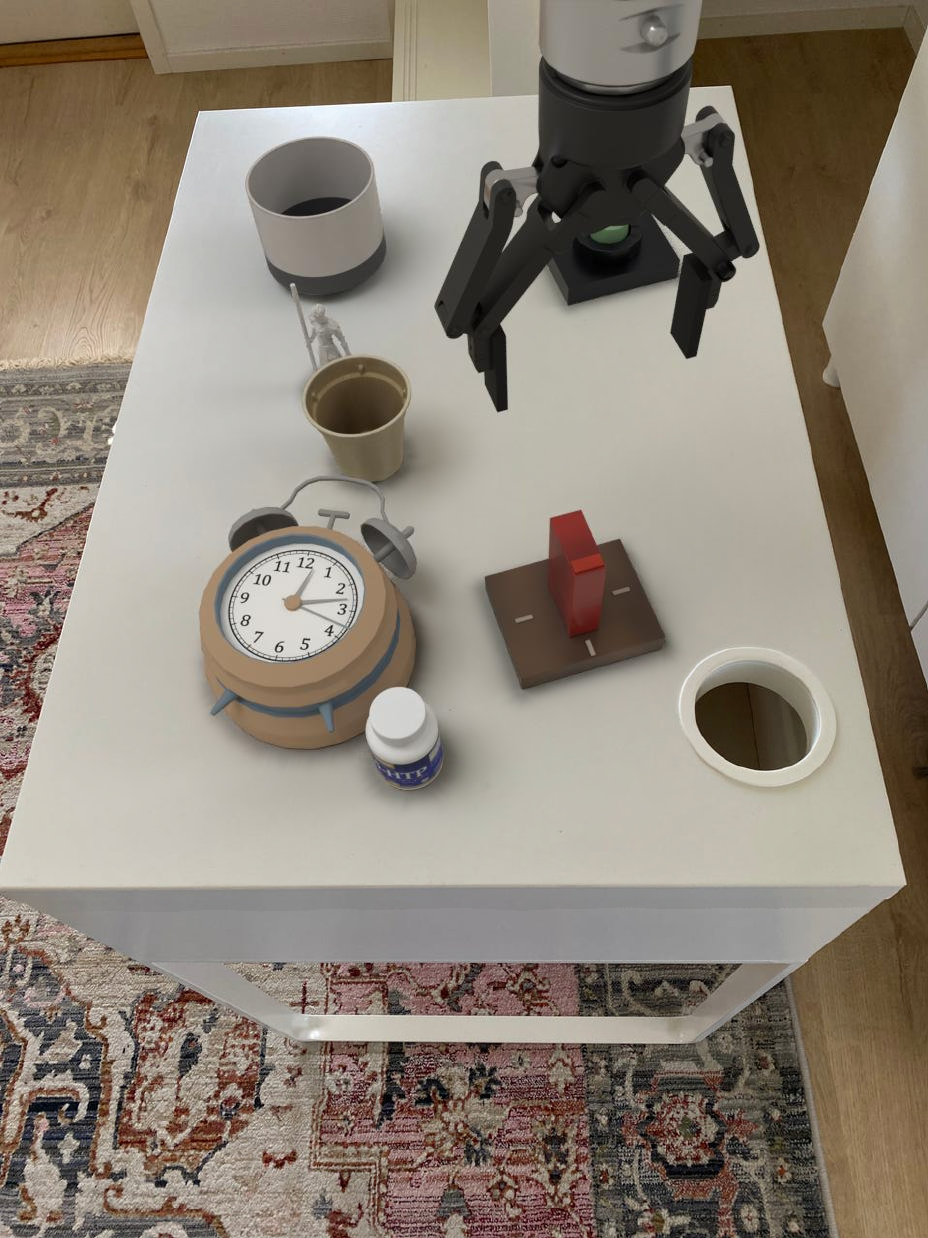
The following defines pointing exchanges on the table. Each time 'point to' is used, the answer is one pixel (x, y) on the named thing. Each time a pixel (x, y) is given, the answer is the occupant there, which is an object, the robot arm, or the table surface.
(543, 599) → the base plate
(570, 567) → the red rectangular block
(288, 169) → the planter
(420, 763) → the pill bottle
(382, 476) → the flower pot
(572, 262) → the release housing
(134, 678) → the table surface
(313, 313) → the figurine
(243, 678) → the alarm clock
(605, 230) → the release button
